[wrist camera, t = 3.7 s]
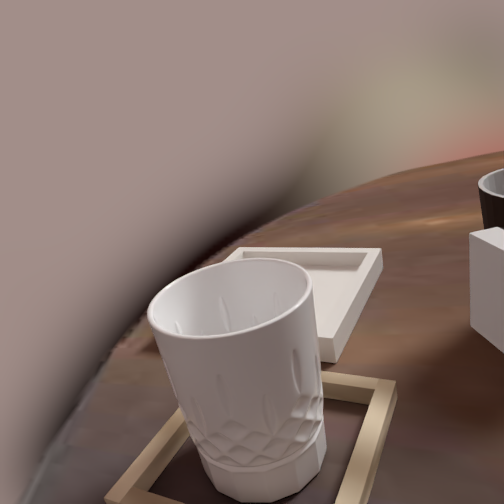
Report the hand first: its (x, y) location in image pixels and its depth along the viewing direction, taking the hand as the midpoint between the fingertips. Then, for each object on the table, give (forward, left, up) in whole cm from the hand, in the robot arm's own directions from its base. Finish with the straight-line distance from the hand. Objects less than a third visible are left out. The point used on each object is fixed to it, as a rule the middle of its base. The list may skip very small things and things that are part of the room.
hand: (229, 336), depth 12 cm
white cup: (-8, -5, -14) cm, 17 cm away
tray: (-24, -11, -13) cm, 30 cm away
